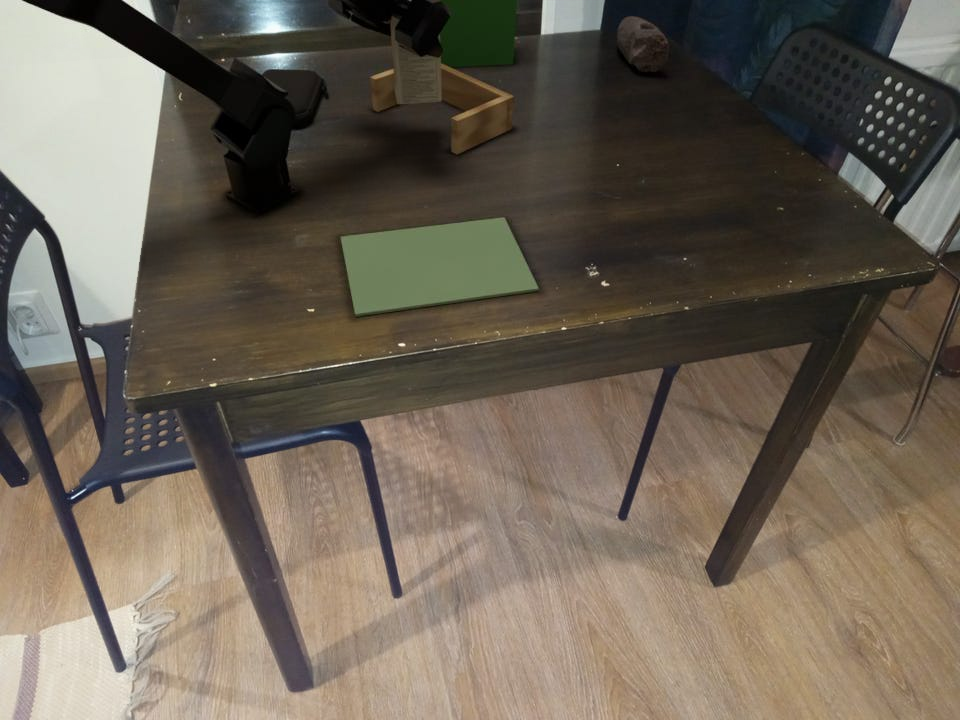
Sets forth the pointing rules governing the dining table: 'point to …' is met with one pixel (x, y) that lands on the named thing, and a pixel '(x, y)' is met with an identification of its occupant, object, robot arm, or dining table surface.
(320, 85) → the carrying case
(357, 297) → the mat
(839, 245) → the dining table surface
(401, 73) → the cosmetic box
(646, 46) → the perforated stone tool
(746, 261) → the dining table surface
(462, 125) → the frame
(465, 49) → the hardback book
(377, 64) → the dining table surface
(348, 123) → the dining table surface
